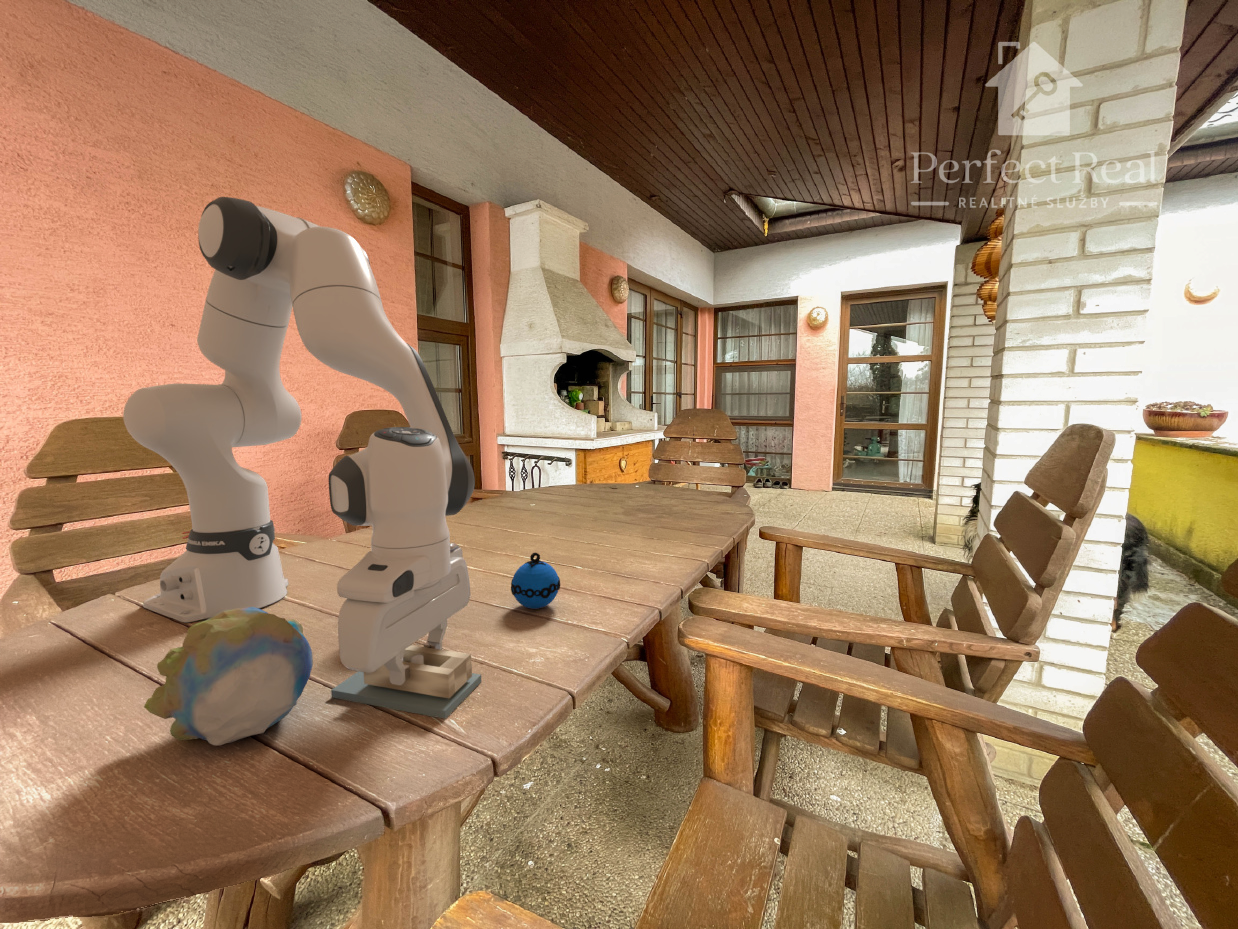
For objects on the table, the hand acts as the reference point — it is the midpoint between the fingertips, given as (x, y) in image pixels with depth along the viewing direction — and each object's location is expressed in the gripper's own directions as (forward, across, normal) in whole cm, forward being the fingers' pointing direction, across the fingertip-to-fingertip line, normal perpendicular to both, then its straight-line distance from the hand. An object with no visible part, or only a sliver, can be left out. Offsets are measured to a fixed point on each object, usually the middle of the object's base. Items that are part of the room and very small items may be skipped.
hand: (417, 667), depth 63 cm
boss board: (+3, 0, -2) cm, 3 cm away
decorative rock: (+3, +11, -16) cm, 19 cm away
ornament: (+3, -28, +4) cm, 28 cm away
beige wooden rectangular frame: (+2, 0, 0) cm, 2 cm away
